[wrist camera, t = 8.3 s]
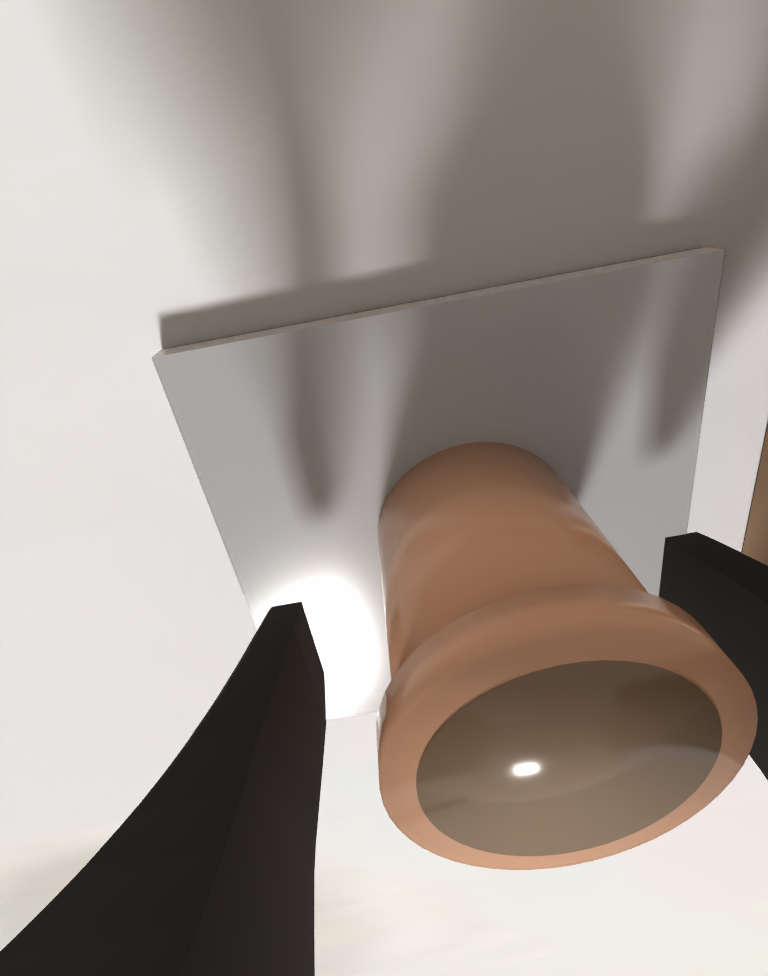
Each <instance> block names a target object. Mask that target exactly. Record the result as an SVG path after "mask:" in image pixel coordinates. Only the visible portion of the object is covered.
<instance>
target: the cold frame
mask: <svg viewBox="0 0 768 976" xmlns="http://www.w3.org/2000/svg"><path fill="white" fill-rule="evenodd" d="M742 553H743V554H745V555H747V556H749V557H751V558H753V559H755V560H757V561H759V562H761V563H763V564H765V565H767V566H768V426H767V431H766V436H765V441H764V446H763V451H762V456H761V461H760V466H759V471H758V476H757V481H756V486H755V491H754V496H753V501H752V506H751V511H750V516H749V521H748V525H747V530H746V535H745V540H744V545H743V550H742Z"/></svg>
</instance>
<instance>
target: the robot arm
mask: <svg viewBox="0 0 768 976" xmlns="http://www.w3.org/2000/svg"><path fill="white" fill-rule="evenodd" d="M659 597H661V598H663V599H665V600H667V601H669V602H671V603H673V604H675V605H677V606H679V607H680V608H681V609H683V610H684V611H686V612H687V613H688V614H690V615H691V616H693V617H694V619H695V620H696V621H697V622H698V623H699V624H700V625H701V626H702V627H703V628H704V629H705V630H706V631H707V632H708V634H709V635H710V636H711V637H712V638H713V640H714V641H715V642H716V643H717V644H718V646H719V647H720V648H721V649H722V650H723V652H724V653H725V654H726V655H727V656H728V658H729V659H730V660H731V661H732V662H733V664H734V665H735V666H736V667H737V668H738V670H739V671H740V672H741V673H742V674H743V676H744V678H745V679H746V681H747V682H748V684H749V686H750V687H751V689H752V692H753V695H754V698H755V701H756V705H757V715H758V721H757V730H756V736H755V739H754V742H753V745H752V748H751V751H750V753H749V755H750V756H751V758H752V759H753V760H754V762H755V763H756V764H757V766H758V767H759V768H760V770H761V771H762V773H763V774H764V776H765V777H766V779H767V780H768V566H767V565H765V564H763V563H761V562H759V561H757V560H755V559H753V558H751V557H749V556H747V555H745V554H743V553H741V552H739V551H737V550H735V549H733V548H730V547H728V546H726V545H724V544H722V543H720V542H718V541H716V540H714V539H711V538H709V537H707V536H705V535H702V534H700V533H698V532H694V533H688V534H683V535H677V536H671V537H666V538H665V544H664V553H663V562H662V571H661V580H660V589H659ZM325 730H326V697H325V673H324V670H323V666H322V663H321V660H320V657H319V654H318V651H317V648H316V645H315V642H314V638H313V635H312V632H311V629H310V626H309V623H308V620H307V617H306V613H305V610H304V607H303V604H302V601H301V602H296V603H290V604H284V605H279V606H273V607H271V608H270V610H269V611H268V612H267V614H266V616H265V618H264V619H263V621H262V623H261V625H260V626H259V628H258V630H257V632H256V634H255V635H254V637H253V639H252V641H251V642H250V644H249V646H248V648H247V649H246V651H245V653H244V654H243V656H242V658H241V660H240V661H239V663H238V665H237V666H236V668H235V670H234V671H233V673H232V674H231V676H230V678H229V679H228V681H227V683H226V684H225V686H224V687H223V689H222V691H221V692H220V694H219V696H218V697H217V699H216V700H215V702H214V703H213V705H212V706H211V708H210V709H209V711H208V712H207V714H206V715H205V717H204V718H203V720H202V721H201V722H200V724H199V725H198V727H197V728H196V730H195V731H194V733H193V734H192V736H191V737H190V739H189V740H188V742H187V743H186V744H185V746H184V747H183V749H182V750H181V751H180V753H179V754H178V755H177V757H176V758H175V759H174V761H173V762H172V763H171V765H170V766H169V767H168V769H167V770H166V771H165V773H164V774H163V775H162V777H161V778H160V779H159V780H158V782H157V783H156V784H155V785H154V787H153V788H152V789H151V790H150V792H149V793H148V794H147V795H146V797H145V798H144V799H143V800H142V802H141V803H140V804H139V805H138V806H137V808H136V809H135V810H134V811H133V812H132V813H131V815H130V816H129V817H128V818H127V819H126V820H125V822H124V823H123V824H122V825H121V826H120V827H119V829H118V830H117V831H116V832H115V833H114V834H113V835H112V836H111V838H110V839H109V840H108V841H107V842H106V843H105V844H104V845H103V847H102V848H101V849H100V850H99V851H98V852H97V853H96V854H95V856H94V857H93V858H92V859H91V860H90V861H89V862H88V863H87V865H86V866H85V867H84V868H83V869H82V870H81V871H80V872H79V873H78V874H77V875H76V876H75V877H74V878H73V879H72V880H71V881H70V882H69V884H68V885H67V886H66V887H65V888H64V889H63V890H62V891H61V892H60V893H59V894H58V895H57V896H56V897H55V898H54V899H53V900H52V901H51V902H50V903H49V904H48V905H47V906H46V907H45V908H44V909H43V910H42V911H41V912H40V913H39V914H38V915H37V916H36V917H35V918H34V919H33V920H32V921H31V922H30V923H29V924H28V925H27V926H26V927H25V928H24V929H23V930H22V931H21V932H20V933H19V934H18V935H17V936H16V937H15V938H14V939H13V940H12V941H11V942H10V943H9V944H8V945H7V946H6V947H4V948H3V949H2V950H1V951H0V976H315V969H314V867H315V847H316V835H317V823H318V812H319V801H320V789H321V778H322V767H323V755H324V743H325Z"/></svg>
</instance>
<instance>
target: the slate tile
mask: <svg viewBox="0 0 768 976" xmlns="http://www.w3.org/2000/svg"><path fill="white" fill-rule="evenodd" d="M724 253H725V250H724V249H717V248H709V247H703V248H698V249H692V250H687V251H682V252H677V253H671V254H666V255H661V256H655V257H650V258H645V259H639V260H634V261H629V262H624V263H618V264H613V265H608V266H602V267H597V268H592V269H587V270H581V271H576V272H571V273H565V274H560V275H555V276H549V277H544V278H539V279H534V280H528V281H523V282H518V283H512V284H507V285H502V286H497V287H491V288H486V289H481V290H475V291H470V292H465V293H459V294H454V295H449V296H444V297H438V298H433V299H428V300H422V301H417V302H412V303H406V304H401V305H396V306H391V307H385V308H380V309H375V310H369V311H364V312H359V313H354V314H348V315H343V316H338V317H332V318H327V319H322V320H316V321H311V322H306V323H301V324H295V325H290V326H285V327H279V328H274V329H269V330H264V331H258V332H253V333H248V334H242V335H237V336H232V337H226V338H221V339H216V340H211V341H205V342H200V343H195V344H189V345H184V346H179V347H173V348H168V349H163V350H160V351H159V352H158V353H157V354H155V355H154V356H153V357H152V360H153V363H154V365H155V368H156V370H157V373H158V376H159V378H160V381H161V383H162V386H163V388H164V391H165V394H166V396H167V399H168V401H169V404H170V406H171V409H172V412H173V414H174V417H175V419H176V422H177V424H178V427H179V430H180V432H181V435H182V437H183V440H184V442H185V445H186V448H187V450H188V453H189V455H190V458H191V460H192V463H193V466H194V468H195V471H196V473H197V476H198V479H199V481H200V484H201V486H202V489H203V491H204V494H205V497H206V499H207V502H208V504H209V507H210V509H211V512H212V515H213V517H214V520H215V522H216V525H217V527H218V530H219V533H220V535H221V538H222V540H223V543H224V545H225V548H226V551H227V553H228V556H229V558H230V561H231V563H232V566H233V569H234V571H235V574H236V576H237V579H238V582H239V584H240V587H241V589H242V592H243V594H244V597H245V600H246V602H247V605H248V607H249V610H250V612H251V615H252V618H253V620H254V623H255V625H256V628H257V630H258V628H259V626H260V625H261V623H262V621H263V619H264V618H265V616H266V614H267V612H268V611H269V610H270V608H271V607H273V606H279V605H284V604H290V603H296V602H301V601H302V604H303V607H304V610H305V613H306V617H307V620H308V623H309V626H310V629H311V632H312V635H313V638H314V642H315V645H316V648H317V651H318V654H319V657H320V660H321V663H322V666H323V670H324V673H325V697H326V720H330V719H336V718H342V717H347V716H353V715H359V714H365V713H371V712H377V711H379V706H380V703H381V701H382V698H383V695H384V693H385V690H386V689H387V687H388V685H389V683H390V682H391V673H390V663H389V652H388V642H387V631H386V621H385V611H384V600H383V590H382V580H381V569H380V559H379V549H378V523H379V517H380V514H381V510H382V507H383V505H384V503H385V501H386V499H387V497H388V495H389V493H390V492H391V490H392V489H393V487H394V486H395V485H396V484H397V482H398V481H399V480H400V479H401V478H402V477H403V476H404V475H405V474H406V473H407V472H408V471H409V470H410V469H411V468H412V467H414V466H415V465H417V464H418V463H419V462H421V461H422V460H424V459H426V458H428V457H429V456H431V455H433V454H435V453H437V452H440V451H442V450H445V449H447V448H450V447H454V446H458V445H461V444H468V443H474V442H496V443H504V444H509V445H513V446H517V447H519V448H522V449H525V450H527V451H529V452H531V453H533V454H535V455H537V456H538V457H540V458H541V459H542V460H543V461H545V462H546V463H547V464H548V465H549V466H550V467H551V468H552V469H553V470H554V471H555V472H556V473H557V475H558V476H559V477H560V479H561V480H562V481H563V482H564V484H565V485H566V486H567V488H568V489H569V490H570V492H571V493H572V494H573V495H574V497H575V498H576V499H577V501H578V502H579V503H580V505H581V506H582V507H583V508H584V510H585V511H586V512H587V514H588V515H589V516H590V518H591V519H592V520H593V521H594V523H595V524H596V525H597V527H598V528H599V529H600V531H601V532H602V533H603V534H604V536H605V537H606V538H607V540H608V541H609V542H610V544H611V545H612V546H613V547H614V549H615V550H616V551H617V553H618V554H619V555H620V557H621V558H622V559H623V560H624V562H625V563H626V564H627V566H628V567H629V568H630V570H631V571H632V572H633V573H634V575H635V576H636V577H637V579H638V580H639V581H640V583H641V584H642V585H643V586H644V588H645V589H646V590H647V592H648V593H649V594H652V595H655V596H659V589H660V580H661V571H662V562H663V553H664V544H665V538H666V537H671V536H677V535H683V534H687V527H688V519H689V512H690V505H691V497H692V490H693V482H694V475H695V468H696V460H697V453H698V445H699V438H700V431H701V423H702V416H703V408H704V401H705V393H706V386H707V379H708V371H709V364H710V356H711V349H712V342H713V334H714V327H715V319H716V312H717V305H718V297H719V290H720V282H721V275H722V268H723V260H724Z"/></svg>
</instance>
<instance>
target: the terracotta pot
mask: <svg viewBox="0 0 768 976" xmlns="http://www.w3.org/2000/svg"><path fill="white" fill-rule="evenodd" d="M378 549H379V559H380V569H381V580H382V590H383V600H384V611H385V621H386V631H387V642H388V652H389V663H390V673H391V682H390V683H389V685H388V687H387V689H386V690H385V693H384V695H383V698H382V701H381V703H380V706H379V711H378V717H377V722H376V726H377V751H378V768H379V785H380V793H381V797H382V801H383V805H384V807H385V809H386V811H387V813H388V815H389V817H390V818H391V820H392V821H393V822H394V824H395V825H396V826H397V828H398V829H399V830H400V831H401V832H402V833H404V834H405V835H406V836H407V837H408V838H409V839H410V840H412V841H413V842H415V843H416V844H418V845H419V846H421V847H422V848H424V849H426V850H428V851H430V852H432V853H434V854H436V855H438V856H441V857H444V858H447V859H449V860H452V861H455V862H460V863H464V864H468V865H472V866H478V867H485V868H492V869H506V870H533V869H546V868H555V867H562V866H569V865H575V864H580V863H584V862H589V861H593V860H597V859H601V858H604V857H608V856H611V855H615V854H617V853H620V852H623V851H626V850H629V849H631V848H634V847H636V846H639V845H641V844H643V843H646V842H648V841H650V840H653V839H655V838H657V837H659V836H660V835H662V834H664V833H666V832H668V831H670V830H672V829H674V828H675V827H677V826H678V825H680V824H682V823H683V822H685V821H686V820H688V819H690V818H691V817H692V816H694V815H695V814H696V813H698V812H699V811H700V810H702V809H703V808H705V807H706V806H707V805H708V804H709V803H710V802H711V801H713V800H714V799H715V798H716V797H717V796H718V795H719V794H720V793H721V792H722V791H723V790H724V789H725V788H726V787H727V786H728V784H729V783H730V782H731V781H732V780H733V779H734V777H735V776H736V774H737V773H738V772H739V770H740V769H741V767H742V766H743V764H744V762H745V760H746V759H747V757H748V755H749V753H750V751H751V748H752V745H753V742H754V739H755V736H756V730H757V721H758V715H757V705H756V701H755V698H754V695H753V692H752V689H751V687H750V686H749V684H748V682H747V681H746V679H745V678H744V676H743V674H742V673H741V672H740V671H739V670H738V668H737V667H736V666H735V665H734V664H733V662H732V661H731V660H730V659H729V658H728V656H727V655H726V654H725V653H724V652H723V650H722V649H721V648H720V647H719V646H718V644H717V643H716V642H715V641H714V640H713V638H712V637H711V636H710V635H709V634H708V632H707V631H706V630H705V629H704V628H703V627H702V626H701V625H700V624H699V623H698V622H697V621H696V620H695V619H694V617H693V616H691V615H690V614H688V613H687V612H686V611H684V610H683V609H681V608H680V607H679V606H677V605H675V604H673V603H671V602H669V601H667V600H665V599H663V598H661V597H659V596H655V595H652V594H649V593H648V592H647V590H646V589H645V588H644V586H643V585H642V584H641V583H640V581H639V580H638V579H637V577H636V576H635V575H634V573H633V572H632V571H631V570H630V568H629V567H628V566H627V564H626V563H625V562H624V560H623V559H622V558H621V557H620V555H619V554H618V553H617V551H616V550H615V549H614V547H613V546H612V545H611V544H610V542H609V541H608V540H607V538H606V537H605V536H604V534H603V533H602V532H601V531H600V529H599V528H598V527H597V525H596V524H595V523H594V521H593V520H592V519H591V518H590V516H589V515H588V514H587V512H586V511H585V510H584V508H583V507H582V506H581V505H580V503H579V502H578V501H577V499H576V498H575V497H574V495H573V494H572V493H571V492H570V490H569V489H568V488H567V486H566V485H565V484H564V482H563V481H562V480H561V479H560V477H559V476H558V475H557V473H556V472H555V471H554V470H553V469H552V468H551V467H550V466H549V465H548V464H547V463H546V462H545V461H543V460H542V459H541V458H540V457H538V456H537V455H535V454H533V453H531V452H529V451H527V450H525V449H522V448H519V447H517V446H513V445H509V444H504V443H496V442H474V443H468V444H461V445H458V446H454V447H450V448H447V449H445V450H442V451H440V452H437V453H435V454H433V455H431V456H429V457H428V458H426V459H424V460H422V461H421V462H419V463H418V464H417V465H415V466H414V467H412V468H411V469H410V470H409V471H408V472H407V473H406V474H405V475H404V476H403V477H402V478H401V479H400V480H399V481H398V482H397V484H396V485H395V486H394V487H393V489H392V490H391V492H390V493H389V495H388V497H387V499H386V501H385V503H384V505H383V507H382V510H381V514H380V517H379V523H378Z"/></svg>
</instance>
